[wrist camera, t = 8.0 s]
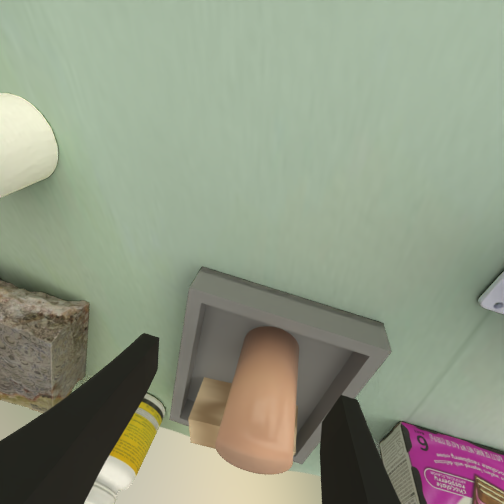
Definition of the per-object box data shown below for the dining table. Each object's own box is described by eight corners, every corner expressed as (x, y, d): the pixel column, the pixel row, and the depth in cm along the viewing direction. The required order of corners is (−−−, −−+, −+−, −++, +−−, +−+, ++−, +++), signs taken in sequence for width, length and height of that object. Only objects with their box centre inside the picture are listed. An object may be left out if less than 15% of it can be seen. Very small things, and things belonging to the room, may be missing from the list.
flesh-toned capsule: (302, 331, 22) (297, 443, 15) (296, 369, 24) (288, 481, 17) (244, 322, 22) (213, 425, 15) (243, 360, 25) (216, 463, 18)
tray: (383, 323, 20) (391, 351, 18) (302, 436, 30) (301, 464, 28) (202, 266, 21) (189, 287, 19) (179, 395, 31) (169, 419, 28)
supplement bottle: (131, 382, 31) (65, 489, 23) (173, 405, 32) (124, 517, 24) (117, 401, 34) (53, 503, 26) (156, 421, 35) (106, 527, 26)
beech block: (244, 386, 26) (234, 429, 23) (242, 409, 29) (233, 453, 25) (204, 377, 27) (188, 418, 24) (205, 401, 29) (190, 442, 26)
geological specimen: (49, 333, 21) (51, 432, 28) (99, 286, 26) (90, 379, 34) (-92, 282, 21) (-52, 396, 28) (-12, 245, 26) (4, 348, 33)
